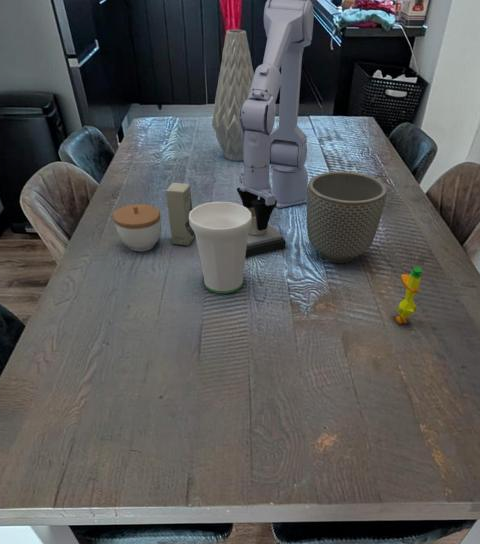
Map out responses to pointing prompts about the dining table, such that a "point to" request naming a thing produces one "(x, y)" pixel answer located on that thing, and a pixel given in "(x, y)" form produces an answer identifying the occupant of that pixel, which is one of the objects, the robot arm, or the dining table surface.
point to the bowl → (254, 224)
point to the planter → (343, 213)
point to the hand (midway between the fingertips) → (256, 223)
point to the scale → (264, 242)
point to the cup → (221, 243)
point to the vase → (232, 93)
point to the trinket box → (138, 226)
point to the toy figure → (409, 294)
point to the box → (180, 213)
